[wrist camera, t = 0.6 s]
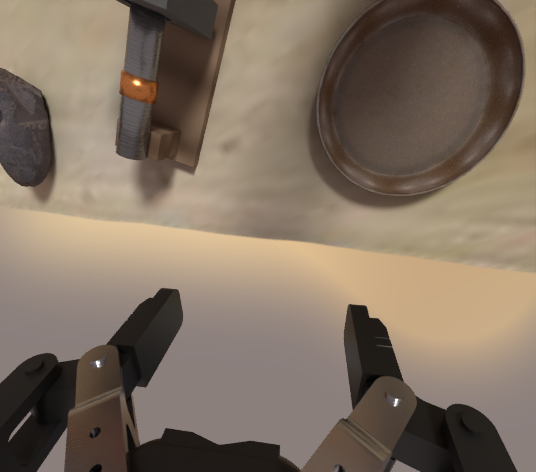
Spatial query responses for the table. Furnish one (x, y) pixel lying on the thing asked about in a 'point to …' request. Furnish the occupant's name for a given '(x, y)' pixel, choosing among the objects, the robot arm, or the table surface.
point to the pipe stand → (186, 89)
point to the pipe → (139, 80)
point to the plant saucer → (420, 92)
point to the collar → (184, 13)
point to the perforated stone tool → (23, 131)
